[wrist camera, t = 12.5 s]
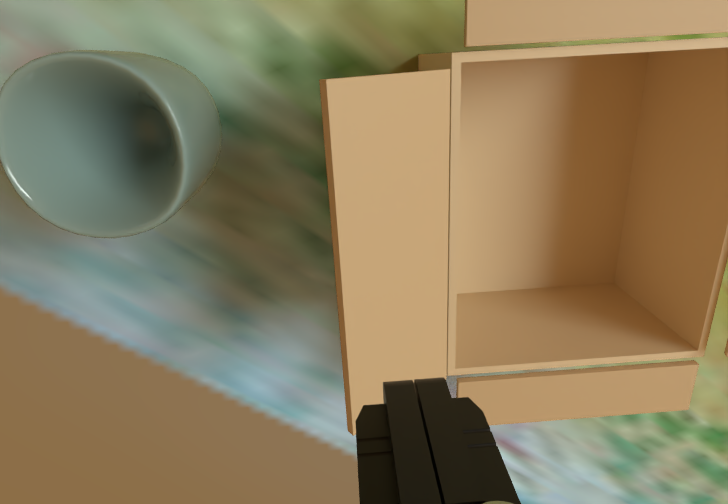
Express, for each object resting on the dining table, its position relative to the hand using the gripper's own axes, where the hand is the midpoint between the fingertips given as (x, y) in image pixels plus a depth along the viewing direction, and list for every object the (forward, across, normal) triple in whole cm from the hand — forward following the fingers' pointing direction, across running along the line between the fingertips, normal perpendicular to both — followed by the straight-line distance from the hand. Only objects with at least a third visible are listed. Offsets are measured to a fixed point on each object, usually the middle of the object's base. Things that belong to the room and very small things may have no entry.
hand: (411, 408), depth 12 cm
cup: (+21, +12, -5) cm, 25 cm away
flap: (+9, -1, 0) cm, 9 cm away
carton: (+21, -10, 0) cm, 23 cm away
